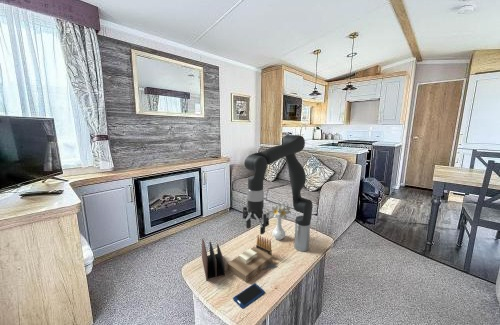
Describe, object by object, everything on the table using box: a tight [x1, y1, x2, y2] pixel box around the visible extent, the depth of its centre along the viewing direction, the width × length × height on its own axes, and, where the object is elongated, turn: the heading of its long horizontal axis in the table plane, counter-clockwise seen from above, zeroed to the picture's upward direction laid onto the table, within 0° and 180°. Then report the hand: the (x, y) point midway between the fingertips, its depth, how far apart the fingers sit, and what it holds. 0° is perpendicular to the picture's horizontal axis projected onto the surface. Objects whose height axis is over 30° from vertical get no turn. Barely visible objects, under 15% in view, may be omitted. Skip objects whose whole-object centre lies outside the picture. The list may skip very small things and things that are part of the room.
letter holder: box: [201, 238, 226, 282], centre depth 113 cm, size 10×20×14 cm, turn 20°
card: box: [238, 248, 257, 264], centre depth 115 cm, size 9×6×2 cm, turn 137°
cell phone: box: [232, 283, 266, 309], centre depth 94 cm, size 7×14×1 cm, turn 131°
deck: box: [226, 246, 273, 283], centre depth 114 cm, size 22×14×4 cm, turn 137°
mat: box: [262, 262, 279, 271], centre depth 107 cm, size 20×9×1 cm, turn 137°
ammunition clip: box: [255, 234, 273, 257], centre depth 124 cm, size 11×2×12 cm, turn 51°
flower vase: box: [264, 202, 292, 241], centre depth 142 cm, size 13×18×25 cm
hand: (255, 230), depth 97 cm, fingers open, 8 cm apart
